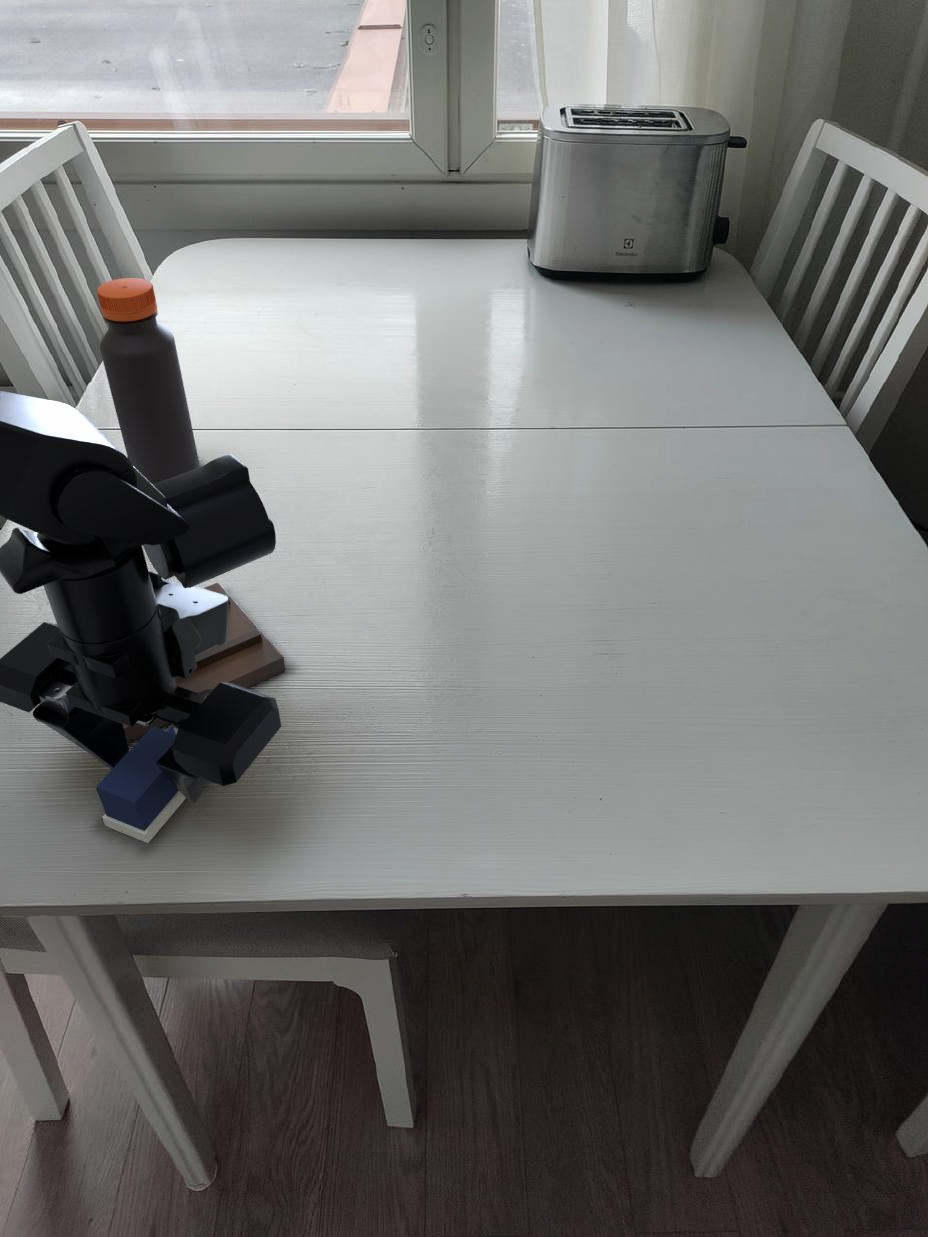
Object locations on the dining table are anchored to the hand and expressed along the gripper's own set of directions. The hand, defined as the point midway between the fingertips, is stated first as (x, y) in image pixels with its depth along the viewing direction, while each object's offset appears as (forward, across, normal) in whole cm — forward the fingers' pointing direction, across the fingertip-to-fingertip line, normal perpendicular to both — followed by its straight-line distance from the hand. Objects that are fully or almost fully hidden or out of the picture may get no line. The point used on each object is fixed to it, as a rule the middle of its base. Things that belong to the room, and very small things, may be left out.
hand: (160, 783), depth 67 cm
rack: (+1, +7, -11) cm, 13 cm away
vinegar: (+1, +25, -34) cm, 43 cm away
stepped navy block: (+1, 0, 0) cm, 1 cm away
